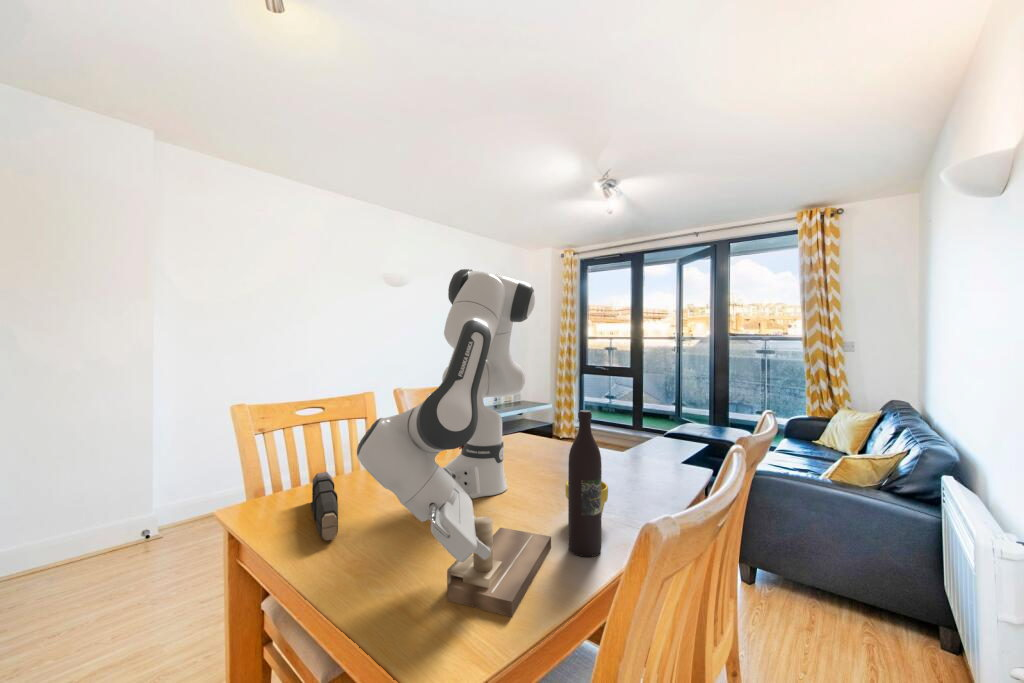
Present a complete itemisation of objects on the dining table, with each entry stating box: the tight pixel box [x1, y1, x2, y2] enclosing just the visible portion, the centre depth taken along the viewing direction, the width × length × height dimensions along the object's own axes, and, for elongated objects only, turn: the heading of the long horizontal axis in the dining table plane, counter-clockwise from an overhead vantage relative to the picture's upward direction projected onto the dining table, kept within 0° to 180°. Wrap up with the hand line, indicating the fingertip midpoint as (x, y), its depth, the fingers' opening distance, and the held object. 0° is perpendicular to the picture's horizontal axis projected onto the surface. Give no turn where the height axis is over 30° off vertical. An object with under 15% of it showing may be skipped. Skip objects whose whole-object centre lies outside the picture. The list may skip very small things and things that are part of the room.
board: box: [446, 527, 552, 618], centre depth 79 cm, size 12×24×3 cm, turn 159°
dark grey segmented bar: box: [310, 471, 339, 541], centre depth 102 cm, size 11×7×30 cm
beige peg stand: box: [446, 516, 502, 588], centre depth 74 cm, size 8×6×12 cm
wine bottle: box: [567, 409, 603, 558], centre depth 88 cm, size 7×7×30 cm
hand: (486, 545), depth 74 cm, fingers open, 5 cm apart
